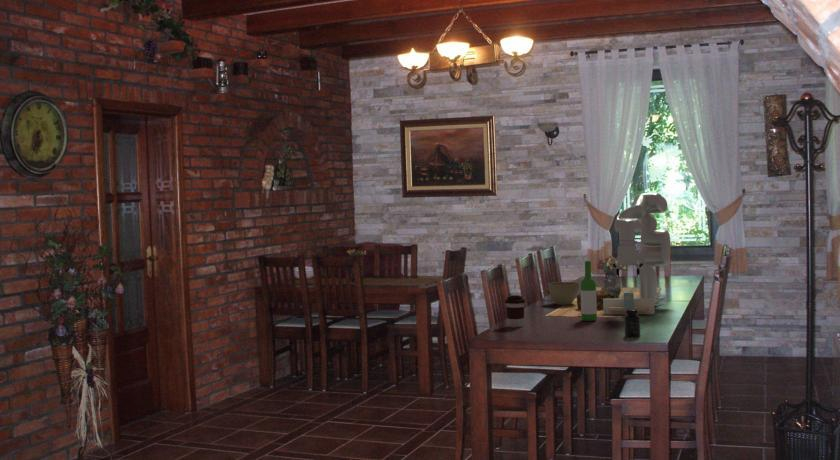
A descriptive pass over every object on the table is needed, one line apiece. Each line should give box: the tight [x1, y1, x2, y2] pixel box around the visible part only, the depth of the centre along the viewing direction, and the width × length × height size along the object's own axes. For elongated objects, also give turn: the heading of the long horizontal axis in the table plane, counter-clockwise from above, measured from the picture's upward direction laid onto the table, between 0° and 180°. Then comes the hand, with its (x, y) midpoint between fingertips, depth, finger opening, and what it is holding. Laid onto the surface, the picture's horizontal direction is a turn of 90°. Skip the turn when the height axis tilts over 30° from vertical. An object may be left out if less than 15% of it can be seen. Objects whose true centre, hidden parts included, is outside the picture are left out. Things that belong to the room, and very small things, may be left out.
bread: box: [576, 289, 615, 310], centre depth 466 cm, size 19×11×10 cm, turn 108°
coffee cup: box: [504, 294, 526, 328], centre depth 414 cm, size 10×10×15 cm
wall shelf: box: [602, 298, 656, 315], centre depth 441 cm, size 11×26×8 cm, turn 76°
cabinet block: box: [623, 290, 635, 308], centre depth 437 cm, size 7×5×8 cm
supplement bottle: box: [623, 309, 641, 338], centre depth 377 cm, size 7×7×12 cm
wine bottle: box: [580, 260, 598, 322], centre depth 424 cm, size 8×8×30 cm
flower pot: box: [547, 281, 580, 306], centre depth 486 cm, size 18×18×12 cm
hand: (628, 276), depth 437 cm, fingers open, 9 cm apart
